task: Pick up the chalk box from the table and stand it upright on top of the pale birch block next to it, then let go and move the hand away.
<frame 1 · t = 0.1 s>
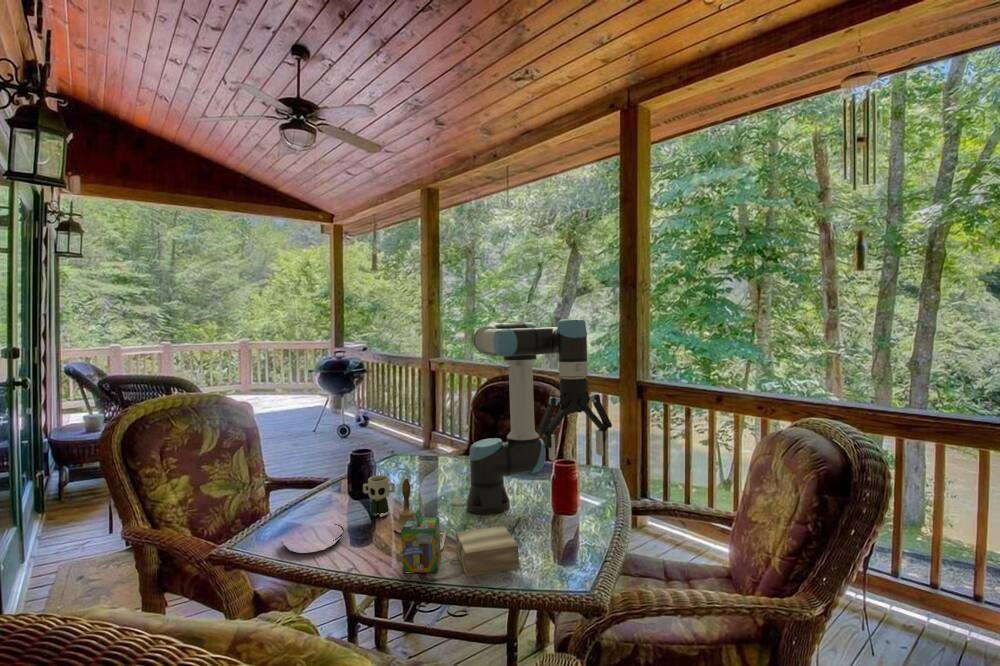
hand: (576, 457, 135), 28 cm above the table, tool pointing down, fingers open, 13 cm apart
dessert: (424, 545, 151), on the table
birch block: (486, 560, 138), on the table
chalk box: (422, 566, 136), on the table
hand bell: (407, 529, 162), on the table
character mug: (380, 516, 174), on the table
plant saucer: (313, 544, 153), on the table
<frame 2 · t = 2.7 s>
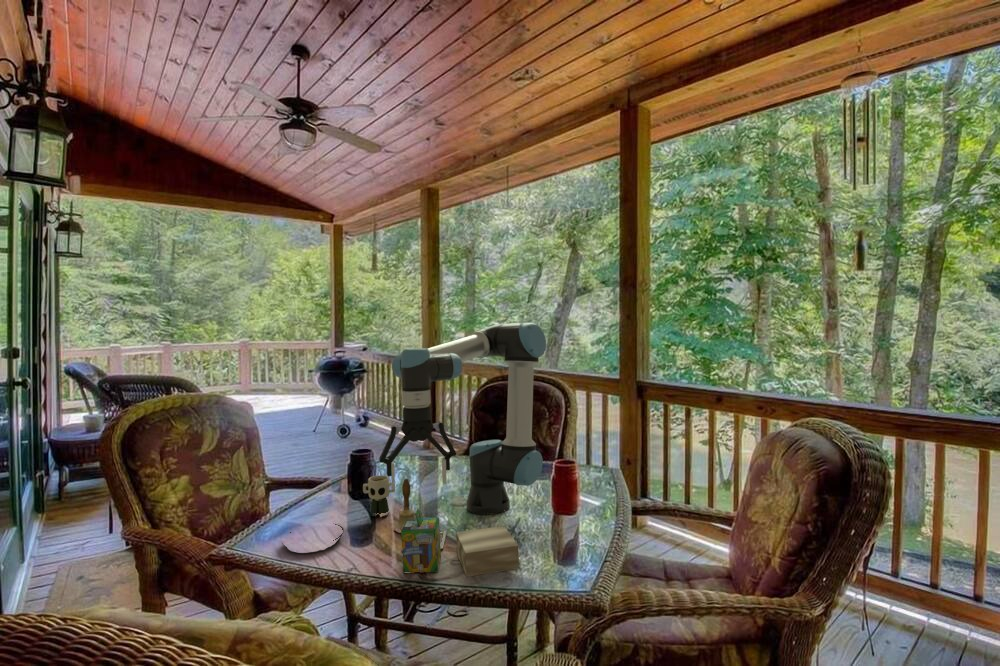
hand: (419, 485, 136), 22 cm above the table, tool pointing down, fingers open, 13 cm apart
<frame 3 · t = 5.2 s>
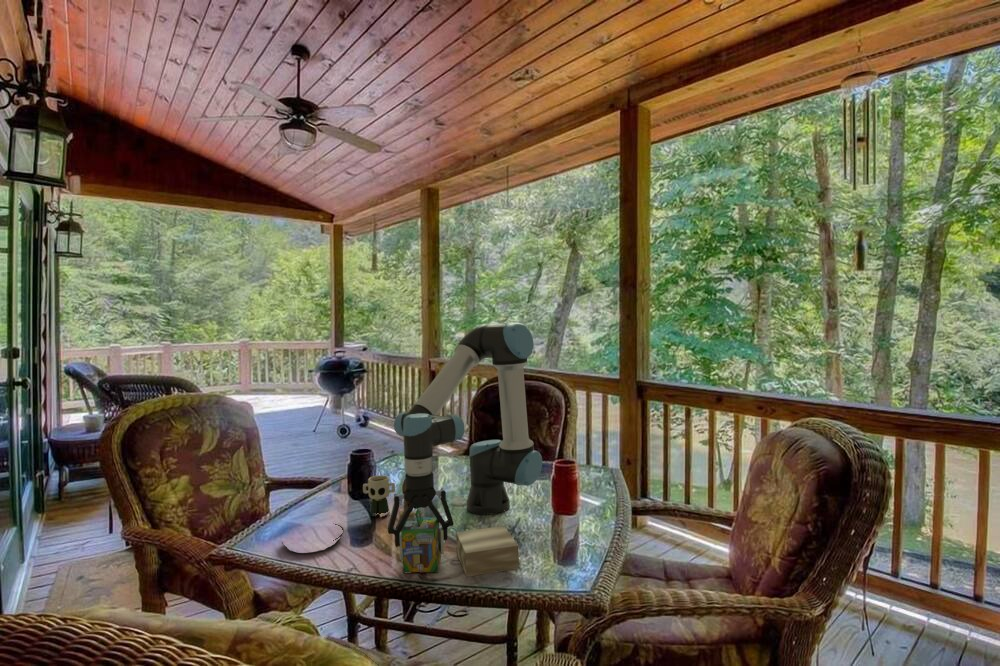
hand: (421, 555, 136), 3 cm above the table, tool pointing down, fingers closed on chalk box, 10 cm apart
chalk box: (422, 566, 136), on the table, touching gripper
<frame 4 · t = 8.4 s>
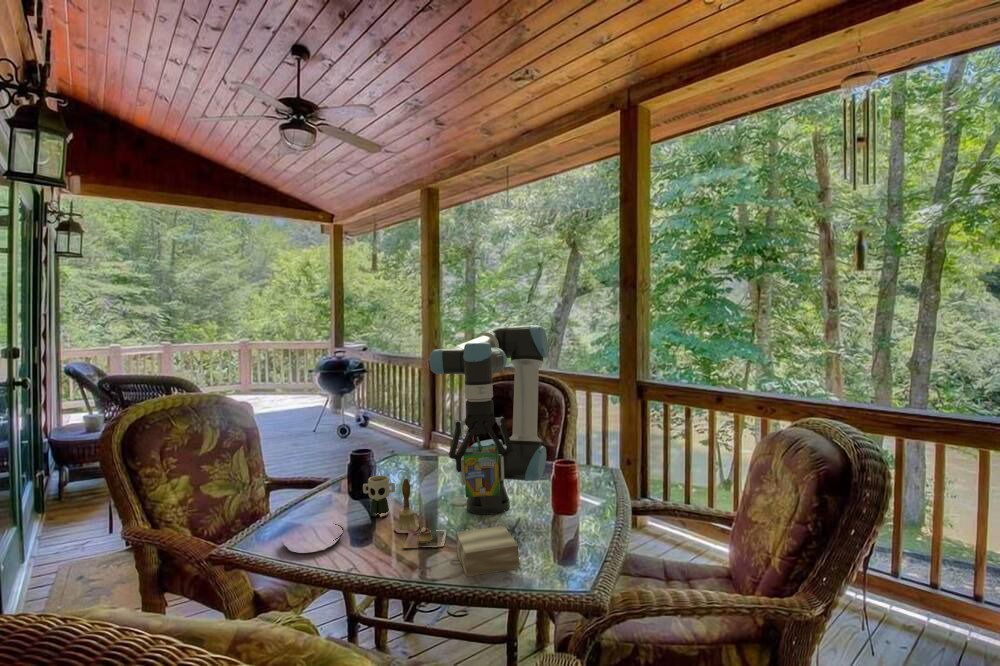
hand: (482, 481, 138), 22 cm above the table, tool pointing down, fingers closed on chalk box, 10 cm apart
chalk box: (483, 492, 138), point 19 cm above the table, touching gripper
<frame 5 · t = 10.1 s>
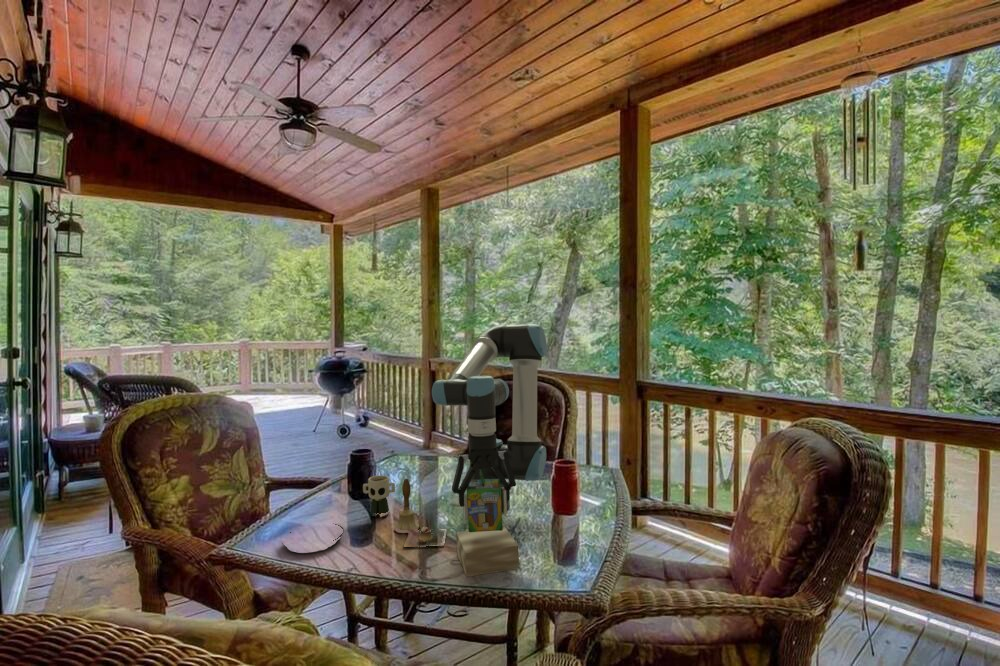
hand: (485, 515, 138), 12 cm above the table, tool pointing down, fingers closed on chalk box, 10 cm apart
chalk box: (486, 526, 138), point 9 cm above the table, touching gripper
when the fingers open (10 cm above the table, at t = 11.5 s): chalk box drops 1 cm, resting on birch block.
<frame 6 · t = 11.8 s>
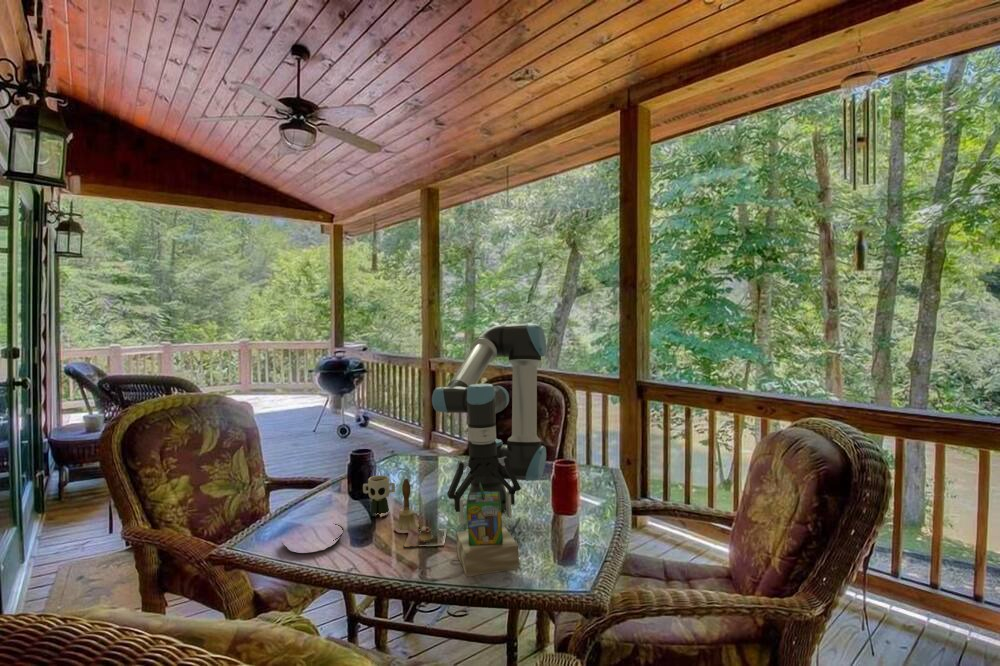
hand: (485, 519, 138), 11 cm above the table, tool pointing down, fingers open, 13 cm apart
chalk box: (485, 539, 138), point 6 cm above the table, touching birch block
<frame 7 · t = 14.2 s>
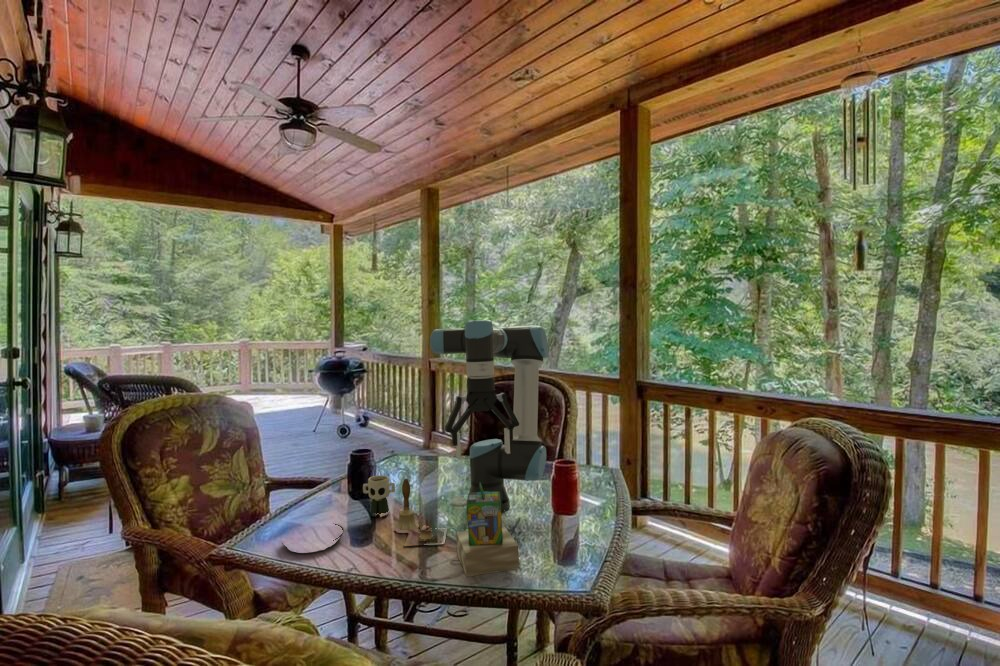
hand: (483, 455, 138), 29 cm above the table, tool pointing down, fingers open, 13 cm apart
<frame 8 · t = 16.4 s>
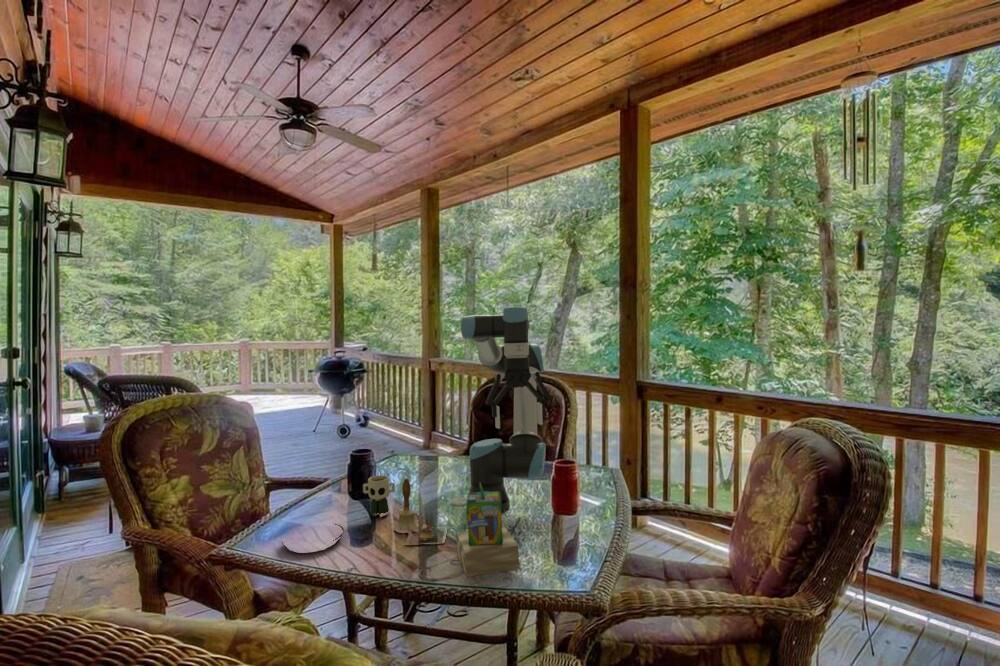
hand: (519, 426, 156), 33 cm above the table, tool pointing down, fingers open, 13 cm apart
at the end: chalk box inside the target area on the birch block (0.1 cm from its centre), point 5.8 cm above the birch block's base; chalk box tilted 0°; the gripper is holding nothing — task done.
